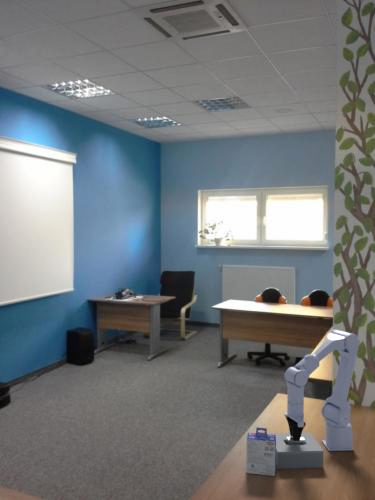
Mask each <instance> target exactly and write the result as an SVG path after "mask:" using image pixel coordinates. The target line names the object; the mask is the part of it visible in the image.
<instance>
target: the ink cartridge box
mask: <svg viewBox="0 0 375 500" xmlns="http://www.w3.org/2000/svg"><path fill="white" fill-rule="evenodd" d="M255 429H256V430H255V432H248V433H247V436H246V474H251V475H253V474H254V475H262V476H269V477H270V476H271V477H275V476H276V470H277V466H276V435H273V434H274V433H268V428H266V427H265V428H263V427H256V428H255ZM259 431H264V432H259Z"/></svg>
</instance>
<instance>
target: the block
mask: <svg viewBox="0 0 375 500" xmlns="http://www.w3.org/2000/svg"><path fill="white" fill-rule="evenodd" d="M293 444H305V439H304V438H303V437H300V441H294V440H293V437H287V442H286V445H293Z"/></svg>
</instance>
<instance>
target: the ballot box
mask: <svg viewBox="0 0 375 500" xmlns="http://www.w3.org/2000/svg"><path fill="white" fill-rule="evenodd" d="M272 434H273V435H276V469H278V470H281V469H282V470H283V469H285V470H287V469H289V470H290V469H311V468H312V469H313V468H314V469H315V468H317V469H320V468H321V469H322V468H323V469H324V449H323V448H322V447H321V445H320V444H319V442H318V441H317V439H316V438H315V437H314V436H313V435H314V434H312V432H302V434H301V437H303V438H304V439H305V444H293V445H286V442H287V437H293V436H291V435H290V432H288V433H286V432H285V433H284V432H282V433H272Z"/></svg>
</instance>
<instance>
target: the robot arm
mask: <svg viewBox="0 0 375 500" xmlns="http://www.w3.org/2000/svg"><path fill="white" fill-rule="evenodd" d="M360 341H361V340H360V339H359V337H358V336H357V335H356V334H355V333H352V332H351V333H350V332H348V331H347V332H346V331H344V330H340V329H338V328H334V329H332V330H331V331H330V332H329V333H327V335H326V339H325V341H324V342H322V344H321V345H320V346H319V347H318V348H317V349H316V350H315V352H313V353H312V354H310V353H308V354H305V355H304V356H303V358H302V359H301V360H300V361H299V362H297V363H296V364H295V365H294V366H290V367H288V368H287V369H286V371H285V373H284V375H283V378H284V381H285V382H286V386H287V395H286V397H287V399H286V400H287V404H286V405H287V406H286V407H287V410H286V411H285V412H283V415H284V417H285V419H286V422H287V424H288V429H289V430H288V431H289V433H290V435H291V436H293V440H294V441H300V437H301V434H302V433H303V431H304V429H305V428H306V425H307V424H306V422H305V421H304V418H305V413H304V411H305V409H304V406H305V401H304V400H305V399H304V398H305V394H304V393H305V392H304V391H305V385H306V384H307V382H308V380H309V378H310V376H311V374H312V373H314V372H315V371H316V370H317V369H318V368H319V367H320V362H321V361H322V360H324V359H325V358H326V357H328V356H329V355H330V354H331V353H332V352H334V351H338V352H339V353H338V354H340V360H339V366H338V368H337V373H336V378H335V382H334V386H333V388H332V389H333V390H332V393H331V396H329V397H327V398H326V399H325V402H324V404H323V406H322V408H321V415H322V417H323V418H324V422H325V439H322V440H321V442H322V443H323V446H325V448H326V449H327V450H328V452H336V451H337V452H338V451H339V452H341V451H343V452H344V451H354V447H353V446H354V431H353V426H352V424H351V423H350V422H351V419H352V416H351V411H352V406H351V405H350V403H349V401H348V396H349V391H350V386H351V385H352V384H351V383H352V379H353V375H354V370H355V367H356V362H357V356H358V350H359V346H360Z"/></svg>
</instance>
